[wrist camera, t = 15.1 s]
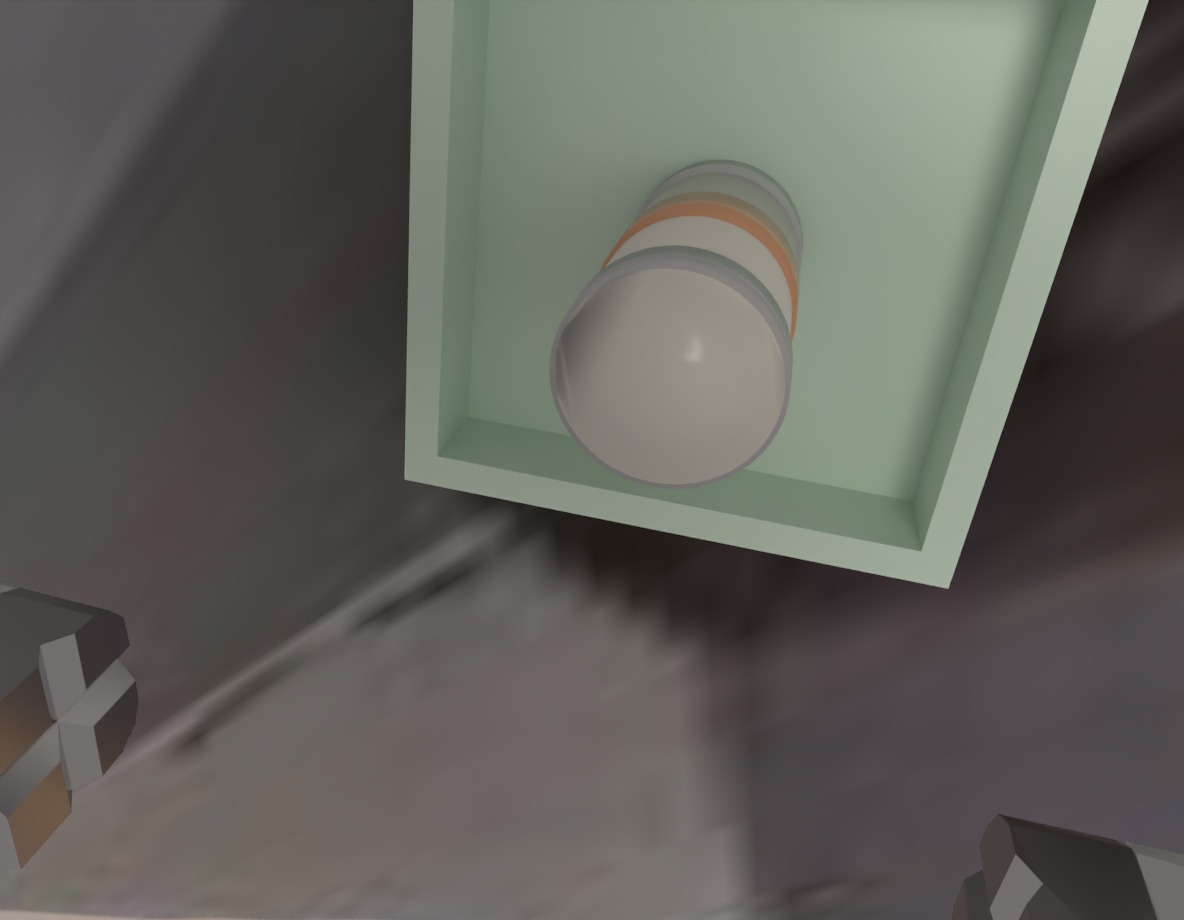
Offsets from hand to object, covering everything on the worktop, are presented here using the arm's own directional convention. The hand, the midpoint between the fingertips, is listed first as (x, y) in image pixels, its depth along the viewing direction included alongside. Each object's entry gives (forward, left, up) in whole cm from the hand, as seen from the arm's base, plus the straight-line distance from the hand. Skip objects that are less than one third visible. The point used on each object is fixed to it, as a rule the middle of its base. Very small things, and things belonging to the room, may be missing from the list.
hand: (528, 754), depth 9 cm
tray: (0, 0, -21) cm, 21 cm away
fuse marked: (0, 0, -21) cm, 21 cm away
